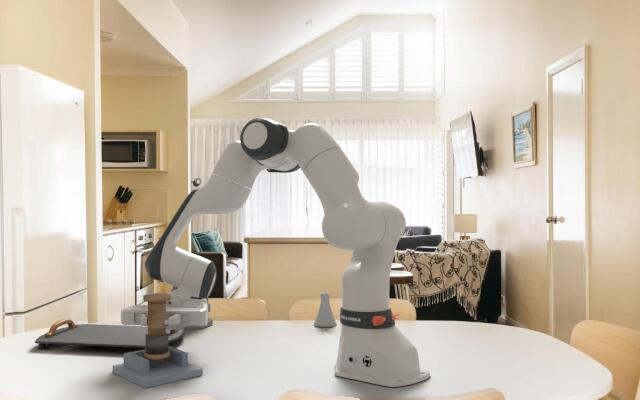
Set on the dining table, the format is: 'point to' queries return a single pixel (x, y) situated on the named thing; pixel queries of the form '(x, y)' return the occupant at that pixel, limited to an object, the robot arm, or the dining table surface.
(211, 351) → the dining table surface
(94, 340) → the serving board
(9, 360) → the dining table surface
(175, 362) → the notched block
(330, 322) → the flask
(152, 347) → the bobbin
